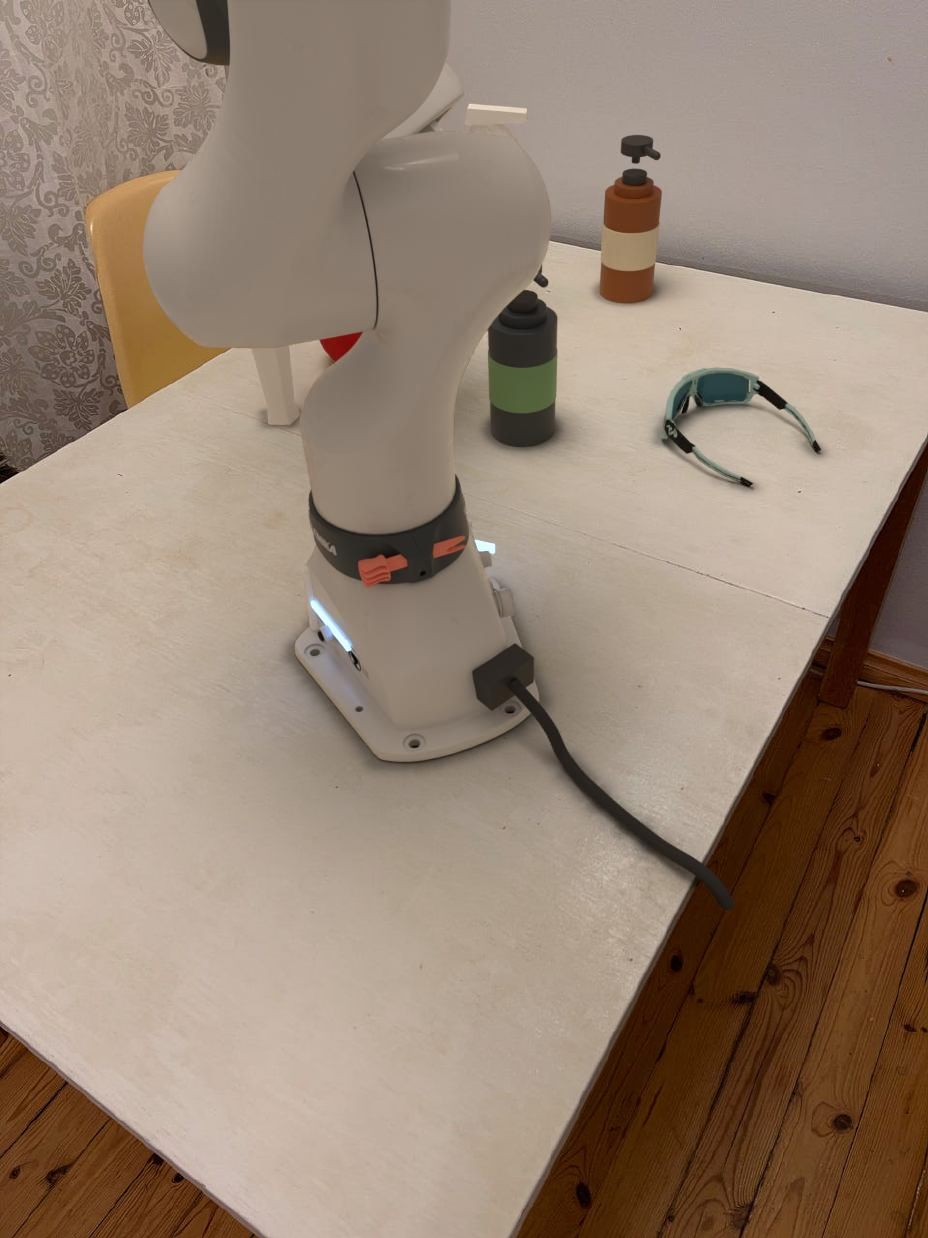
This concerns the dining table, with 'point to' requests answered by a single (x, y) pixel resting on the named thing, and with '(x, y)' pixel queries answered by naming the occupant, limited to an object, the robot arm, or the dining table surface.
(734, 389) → the sunglasses
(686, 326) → the dining table surface
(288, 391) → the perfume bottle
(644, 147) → the dark grey pump head
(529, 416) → the dark grey pump bottle
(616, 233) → the amber bottle
